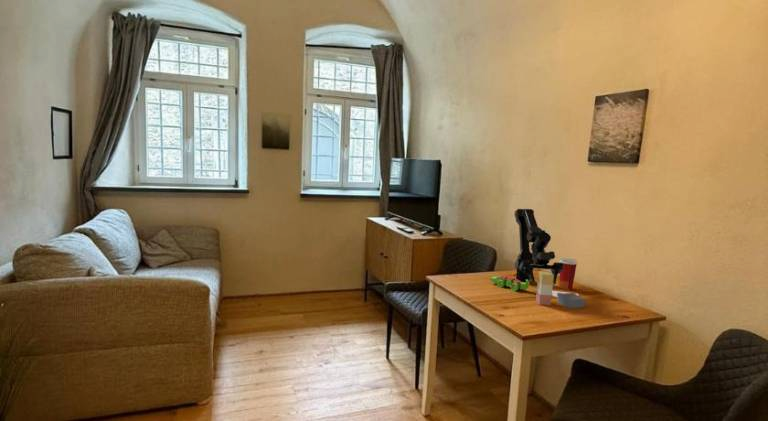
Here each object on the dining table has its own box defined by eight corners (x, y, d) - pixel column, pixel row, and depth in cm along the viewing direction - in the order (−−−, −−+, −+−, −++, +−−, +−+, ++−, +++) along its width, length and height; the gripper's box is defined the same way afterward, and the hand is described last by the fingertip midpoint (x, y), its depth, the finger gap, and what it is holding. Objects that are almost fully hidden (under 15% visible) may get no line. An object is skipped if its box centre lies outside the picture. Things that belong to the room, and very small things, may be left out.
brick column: (535, 300, 190) (538, 271, 188) (546, 301, 190) (549, 271, 188) (539, 304, 185) (542, 274, 183) (550, 305, 185) (553, 275, 183)
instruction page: (552, 296, 197) (553, 295, 197) (551, 290, 206) (551, 290, 206) (580, 300, 194) (580, 299, 194) (577, 294, 202) (578, 293, 202)
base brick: (557, 302, 191) (558, 293, 190) (572, 301, 193) (573, 293, 192) (568, 308, 183) (569, 299, 183) (584, 307, 185) (585, 299, 185)
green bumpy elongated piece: (487, 284, 212) (488, 272, 212) (494, 281, 217) (495, 270, 216) (524, 294, 199) (525, 282, 198) (530, 291, 204) (532, 279, 203)
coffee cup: (571, 286, 215) (574, 258, 213) (576, 291, 207) (580, 262, 204) (554, 285, 215) (557, 256, 213) (559, 290, 207) (562, 261, 205)
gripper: (523, 243, 191) (528, 273, 181) (564, 245, 190) (571, 276, 181) (517, 256, 200) (521, 285, 190) (556, 258, 199) (563, 287, 189)
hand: (544, 283), depth 187 cm, fingers open, 9 cm apart
